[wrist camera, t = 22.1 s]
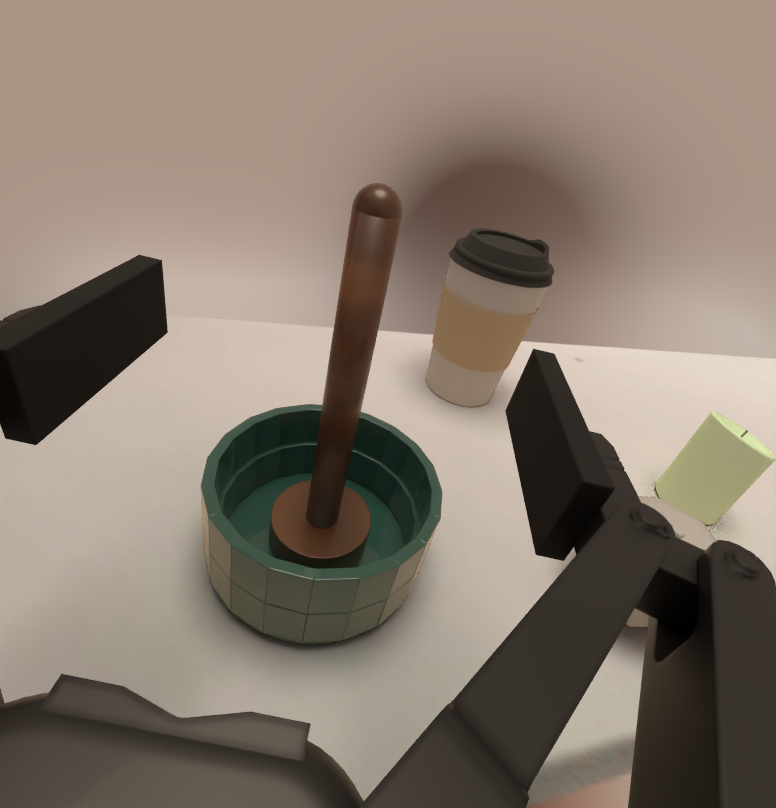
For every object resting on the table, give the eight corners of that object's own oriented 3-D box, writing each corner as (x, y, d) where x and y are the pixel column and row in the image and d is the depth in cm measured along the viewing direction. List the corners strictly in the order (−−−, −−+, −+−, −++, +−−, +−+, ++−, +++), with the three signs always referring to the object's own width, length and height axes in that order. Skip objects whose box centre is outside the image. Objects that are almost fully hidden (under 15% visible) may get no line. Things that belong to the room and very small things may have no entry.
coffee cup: (425, 410, 41) (477, 245, 32) (407, 358, 48) (445, 212, 40) (515, 416, 43) (585, 263, 35) (484, 366, 50) (536, 230, 42)
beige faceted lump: (631, 685, 24) (706, 619, 20) (533, 562, 29) (577, 492, 25) (711, 631, 28) (786, 568, 24) (611, 531, 33) (660, 467, 29)
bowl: (186, 659, 20) (177, 584, 17) (221, 469, 30) (220, 397, 27) (436, 642, 24) (472, 576, 20) (396, 475, 33) (415, 411, 30)
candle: (691, 482, 40) (752, 410, 36) (730, 528, 36) (804, 452, 32) (643, 477, 39) (699, 402, 35) (677, 523, 35) (746, 445, 31)
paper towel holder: (266, 582, 23) (300, 185, 13) (270, 500, 28) (299, 154, 17) (370, 579, 25) (483, 219, 14) (359, 501, 29) (438, 182, 18)
